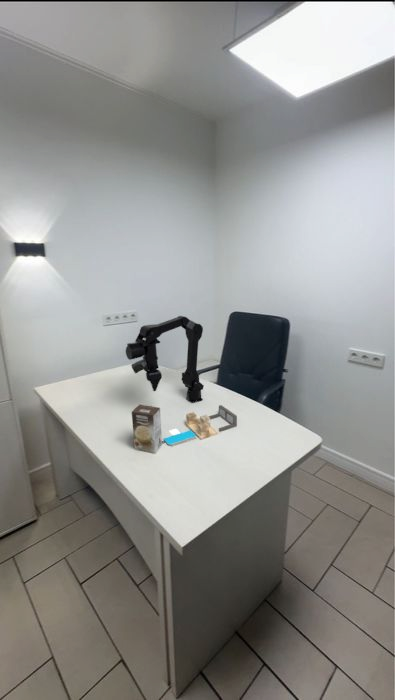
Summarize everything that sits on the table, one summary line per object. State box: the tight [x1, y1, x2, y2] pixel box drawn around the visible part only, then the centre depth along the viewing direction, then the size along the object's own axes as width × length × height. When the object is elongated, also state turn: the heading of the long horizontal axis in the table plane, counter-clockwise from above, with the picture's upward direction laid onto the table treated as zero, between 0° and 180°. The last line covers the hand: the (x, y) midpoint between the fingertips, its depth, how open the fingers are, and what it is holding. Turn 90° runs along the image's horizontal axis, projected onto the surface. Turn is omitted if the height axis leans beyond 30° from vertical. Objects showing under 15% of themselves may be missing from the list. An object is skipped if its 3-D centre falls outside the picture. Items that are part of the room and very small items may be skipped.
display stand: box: [184, 411, 218, 440], centre depth 130 cm, size 8×14×5 cm, turn 28°
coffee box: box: [131, 403, 163, 454], centre depth 116 cm, size 9×6×16 cm
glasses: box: [207, 404, 238, 433], centre depth 134 cm, size 8×12×5 cm
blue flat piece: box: [162, 428, 198, 448], centre depth 125 cm, size 20×12×2 cm, turn 118°
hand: (153, 387), depth 140 cm, fingers open, 9 cm apart
